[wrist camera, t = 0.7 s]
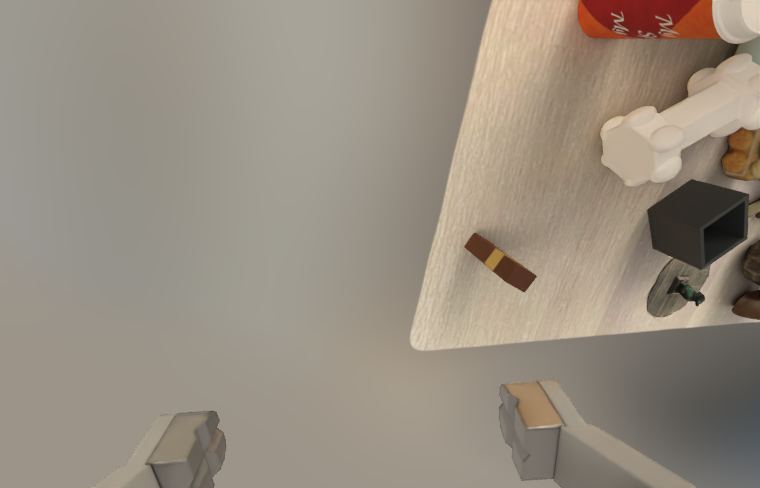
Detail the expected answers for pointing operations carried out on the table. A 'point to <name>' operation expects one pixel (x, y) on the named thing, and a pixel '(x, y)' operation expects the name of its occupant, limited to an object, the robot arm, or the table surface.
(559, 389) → the robot arm
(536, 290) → the table surface
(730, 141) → the ornament
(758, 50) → the character sculpture
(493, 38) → the table surface
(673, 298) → the sculpture
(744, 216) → the trash bin
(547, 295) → the table surface
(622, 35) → the paper cup
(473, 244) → the chocolate bar
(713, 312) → the table surface
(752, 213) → the ice cream bar
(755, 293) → the saucer
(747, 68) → the dog bone
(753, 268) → the rock
